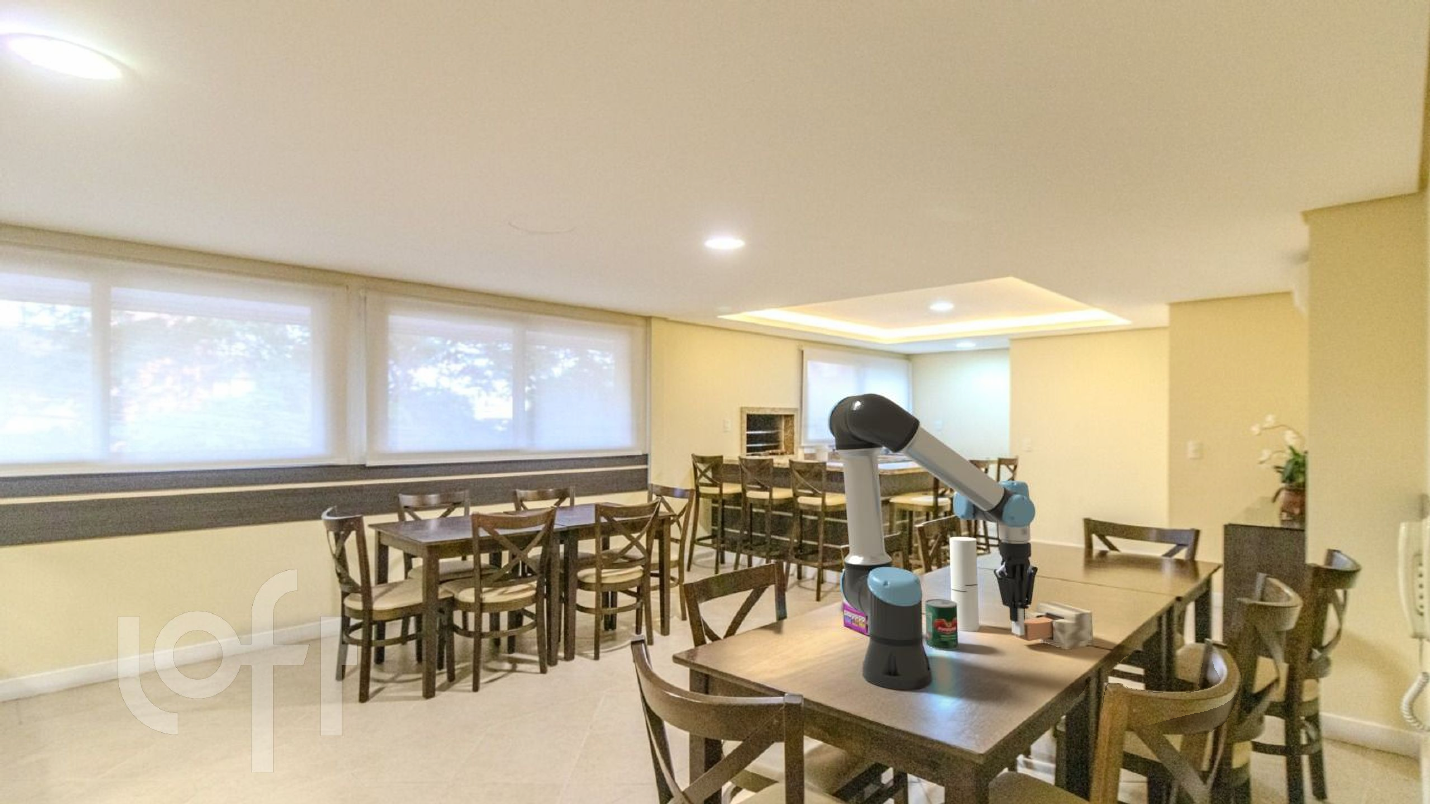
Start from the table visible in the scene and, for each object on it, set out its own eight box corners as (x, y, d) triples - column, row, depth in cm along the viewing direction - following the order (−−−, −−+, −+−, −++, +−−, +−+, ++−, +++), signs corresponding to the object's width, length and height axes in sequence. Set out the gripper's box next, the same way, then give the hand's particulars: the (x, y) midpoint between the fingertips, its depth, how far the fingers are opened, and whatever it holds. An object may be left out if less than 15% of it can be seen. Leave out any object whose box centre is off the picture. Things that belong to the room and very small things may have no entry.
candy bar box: (881, 634, 180) (880, 573, 180) (867, 636, 177) (865, 575, 178) (856, 623, 190) (855, 566, 191) (842, 625, 188) (841, 568, 188)
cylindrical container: (983, 631, 181) (980, 540, 182) (957, 631, 181) (954, 540, 183) (973, 624, 188) (970, 536, 190) (948, 624, 188) (946, 537, 190)
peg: (1028, 641, 166) (1027, 625, 166) (1015, 636, 169) (1015, 621, 170) (1057, 636, 169) (1056, 620, 170) (1044, 632, 173) (1043, 616, 173)
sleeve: (1065, 649, 165) (1063, 616, 165) (1026, 636, 176) (1025, 605, 176) (1093, 644, 169) (1091, 611, 169) (1053, 632, 180) (1052, 601, 180)
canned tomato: (946, 652, 164) (945, 608, 164) (919, 644, 170) (918, 602, 171) (964, 646, 168) (963, 603, 169) (938, 639, 175) (937, 597, 175)
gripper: (1006, 544, 163) (1010, 641, 161) (1045, 541, 167) (1049, 634, 166) (984, 540, 170) (987, 632, 168) (1022, 537, 174) (1025, 626, 173)
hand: (1018, 633), depth 167 cm, fingers closed
